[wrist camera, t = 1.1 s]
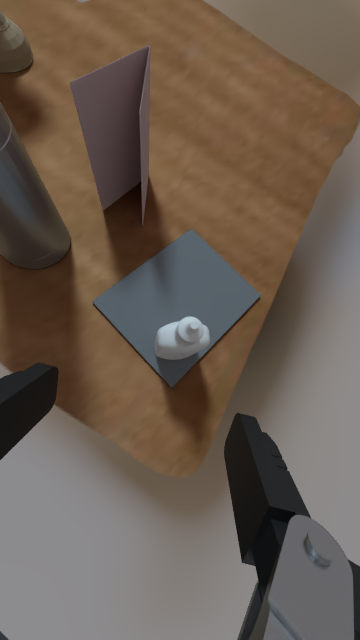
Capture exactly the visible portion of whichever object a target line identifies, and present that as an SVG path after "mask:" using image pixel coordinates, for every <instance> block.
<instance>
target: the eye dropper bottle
mask: <svg viewBox="0 0 360 640" xmlns="http://www.w3.org/2000/svg"><path fill="white" fill-rule="evenodd" d="M209 343H210V334H209V329H208V327H207V326H205V325H203V324H202V323H201V322H200V321H199V320H198V319H197V318H195V317H191V316H190V317H185V318H183V319H182V320H181V321H177V322H173V323H170V324H167V325H165V326H163V327H161V328H160V329H159V330H158V332H157V335H156V340H155V354H156V356H158V357H160V358H163V359H168V360H179V359H184V358H187V357H189V356H191V355H193V354H195V353H197V352H199V351H200V350H202V349H204V348H205V347H207V346H208V345H209Z"/></svg>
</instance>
